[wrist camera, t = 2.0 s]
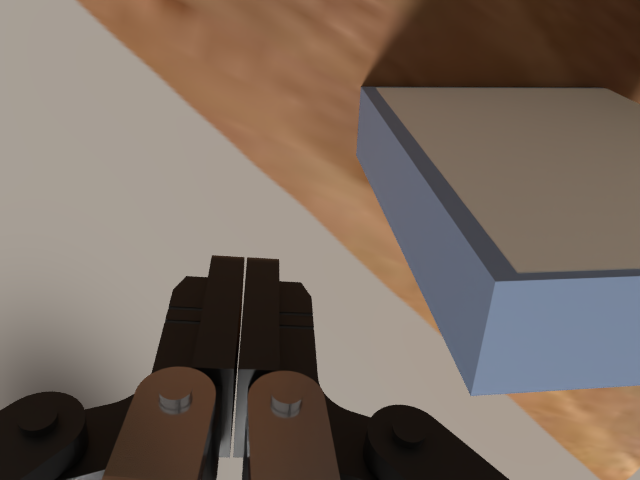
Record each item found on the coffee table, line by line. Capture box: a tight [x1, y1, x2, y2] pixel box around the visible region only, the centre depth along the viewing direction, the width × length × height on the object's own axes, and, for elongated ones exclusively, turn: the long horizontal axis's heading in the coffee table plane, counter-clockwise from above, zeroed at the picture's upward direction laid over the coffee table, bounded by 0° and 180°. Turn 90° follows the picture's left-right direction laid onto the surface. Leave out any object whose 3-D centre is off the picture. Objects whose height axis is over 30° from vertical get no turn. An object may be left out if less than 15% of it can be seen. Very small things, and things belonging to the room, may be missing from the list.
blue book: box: [356, 87, 640, 396], centre depth 29 cm, size 5×16×22 cm, turn 88°
